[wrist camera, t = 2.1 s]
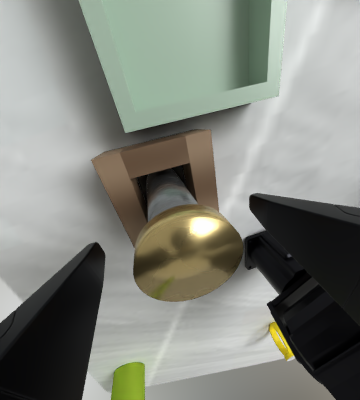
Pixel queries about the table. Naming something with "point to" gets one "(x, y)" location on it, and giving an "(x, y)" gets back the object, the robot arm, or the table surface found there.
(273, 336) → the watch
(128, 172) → the socket block
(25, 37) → the table surface
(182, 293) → the pin
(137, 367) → the soap dispenser
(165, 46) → the tray
